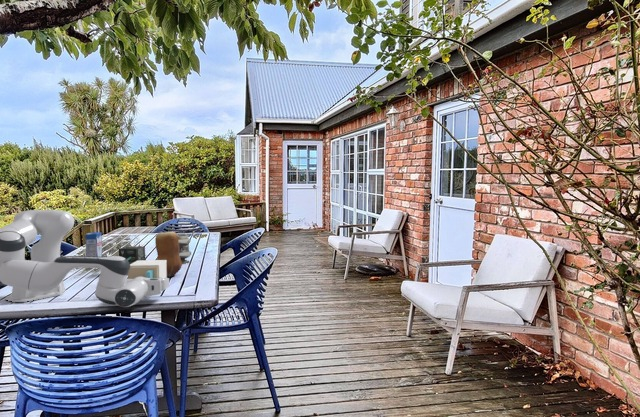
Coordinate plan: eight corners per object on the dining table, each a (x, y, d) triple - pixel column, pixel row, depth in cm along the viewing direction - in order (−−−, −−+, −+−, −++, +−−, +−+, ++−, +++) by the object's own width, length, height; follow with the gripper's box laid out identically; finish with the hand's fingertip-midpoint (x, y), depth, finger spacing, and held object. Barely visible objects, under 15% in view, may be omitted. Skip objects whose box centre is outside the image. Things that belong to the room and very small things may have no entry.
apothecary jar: (168, 263, 250) (167, 235, 249) (184, 260, 259) (184, 233, 258) (177, 265, 242) (177, 237, 241) (195, 262, 251) (194, 235, 250)
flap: (154, 293, 176) (153, 269, 176) (123, 294, 175) (123, 270, 174) (158, 289, 182) (157, 266, 182) (129, 290, 181) (128, 267, 180)
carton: (159, 292, 183) (158, 264, 182) (128, 292, 181) (127, 265, 181) (167, 285, 195) (166, 259, 194) (138, 286, 193) (137, 260, 193)
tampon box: (146, 270, 228) (145, 246, 227) (137, 274, 219) (136, 248, 218) (128, 270, 229) (127, 245, 228) (119, 273, 220) (118, 248, 219)
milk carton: (97, 265, 241) (96, 234, 240) (86, 266, 239) (85, 234, 238) (102, 262, 251) (101, 232, 249) (92, 263, 249) (90, 232, 248)
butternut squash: (160, 273, 220) (159, 230, 218) (184, 273, 221) (183, 229, 220) (152, 279, 206) (151, 233, 205) (178, 279, 208) (177, 232, 206)
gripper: (114, 295, 164) (127, 286, 178) (164, 294, 166) (172, 285, 180) (113, 280, 164) (126, 273, 177) (163, 279, 166) (172, 272, 179)
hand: (150, 279), depth 179 cm, fingers open, 8 cm apart
